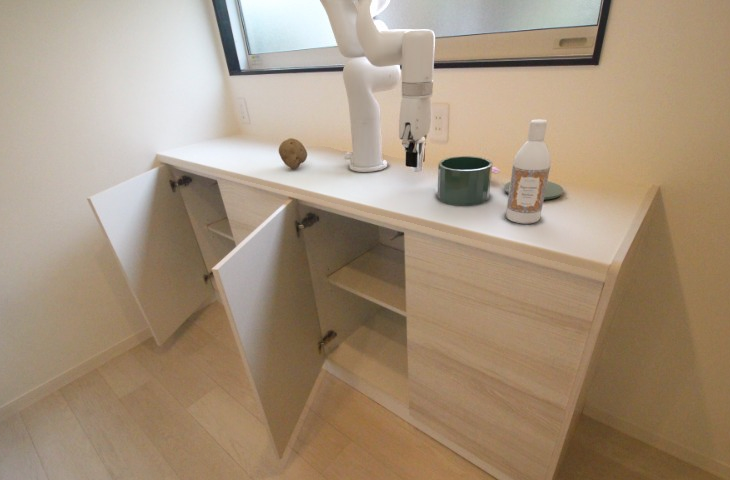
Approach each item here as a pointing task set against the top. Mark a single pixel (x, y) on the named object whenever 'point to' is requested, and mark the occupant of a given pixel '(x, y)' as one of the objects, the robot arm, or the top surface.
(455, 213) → the top surface
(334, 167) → the top surface
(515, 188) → the bath foam
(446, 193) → the pot
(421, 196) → the top surface
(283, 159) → the brown potato
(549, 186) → the pot lid
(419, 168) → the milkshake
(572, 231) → the top surface
